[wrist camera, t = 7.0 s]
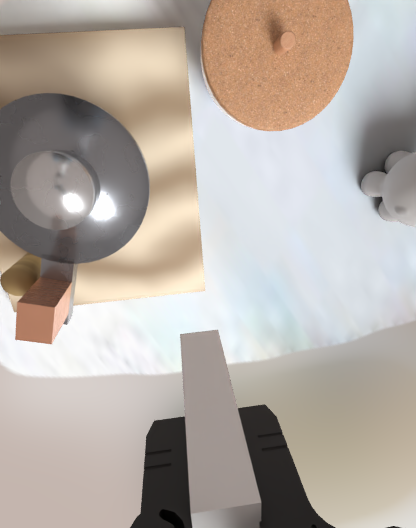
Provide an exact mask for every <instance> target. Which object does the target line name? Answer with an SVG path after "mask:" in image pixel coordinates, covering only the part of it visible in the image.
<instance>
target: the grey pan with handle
mask: <svg viewBox="0 0 416 528" xmlns="http://www.w3.org/2000/svg"><path fill="white" fill-rule="evenodd" d="M149 197H150V178H149V171H148V167H147V164H146V160H145V158H144V155H143V153H142V151H141V149H140V147H139V145H138V143H137V142H136V140H135V139H134V137H133V136H132V134H131V133H130V132H129V130H128V129H127V128H126V127H125V126H124V125H123V124H122V123H121V122H120V121H119V120H118V119H116V118H115V117H114V116H113V115H112V114H110V113H108V112H107V111H105V110H104V109H102V108H101V107H99V106H97V105H94V104H92V103H90V102H88V101H86V100H83V99H80V98H77V97H74V96H70V95H65V94H58V93H41V94H33V95H29V96H24V97H22V98H19V99H17V100H14V101H12V102H10V103H9V104H7V105H5V106H4V107H2V108H1V109H0V231H1V232H2V233H3V234H4V235H5V236H6V237H7V238H8V239H9V240H11V241H12V242H13V243H14V244H16V245H17V246H19V247H20V248H22V249H23V250H25V251H27V252H29V253H31V254H33V255H35V256H37V257H40V258H42V259H41V272H40V278H39V279H38V280H37V281H36V282H35V283H34V284H33V285H32V287H31V288H30V289H29V290H28V291H27V292H26V293H25V294H24V295H23V296H22V297H21V299H20V300H19V301H18V302H17V317H16V337H15V340H23V341H31V342H38V343H46V344H52V342H53V341H54V339H55V337H56V335H57V334H58V332H59V330H60V328H61V326H62V325H63V324H66V325H67V324H68V322H69V320H70V318H71V317H72V312H73V303H74V294H75V286H76V277H77V268H78V264H80V263H89V262H93V261H97V260H100V259H103V258H105V257H108V256H110V255H112V254H113V253H115V252H117V251H118V250H120V249H121V248H122V247H124V246H125V245H126V244H127V243H128V242H129V241H130V240H131V239H132V237H133V236H134V235H135V234H136V232H137V231H138V229H139V227H140V226H141V224H142V222H143V219H144V217H145V214H146V211H147V207H148V203H149Z"/></svg>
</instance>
